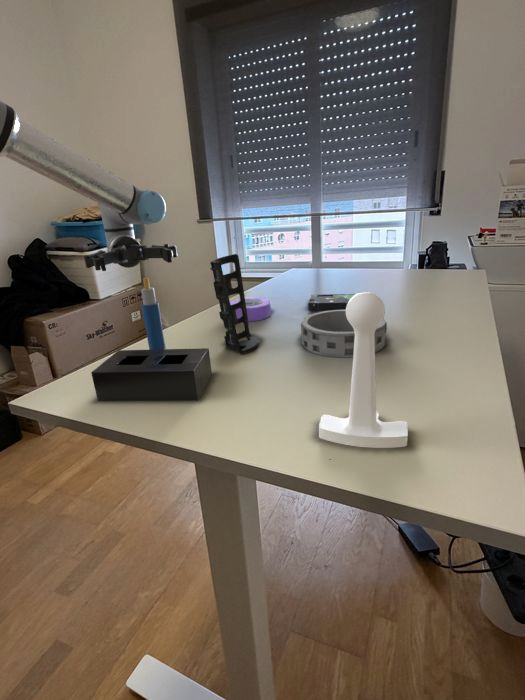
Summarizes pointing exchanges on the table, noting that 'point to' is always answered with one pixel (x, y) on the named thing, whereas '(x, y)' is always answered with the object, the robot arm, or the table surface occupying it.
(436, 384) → the table surface
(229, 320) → the holder
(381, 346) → the ring
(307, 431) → the table surface
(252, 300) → the tape roll
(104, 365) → the two-slot black box
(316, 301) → the disk drive
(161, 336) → the soldering iron
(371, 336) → the joystick
